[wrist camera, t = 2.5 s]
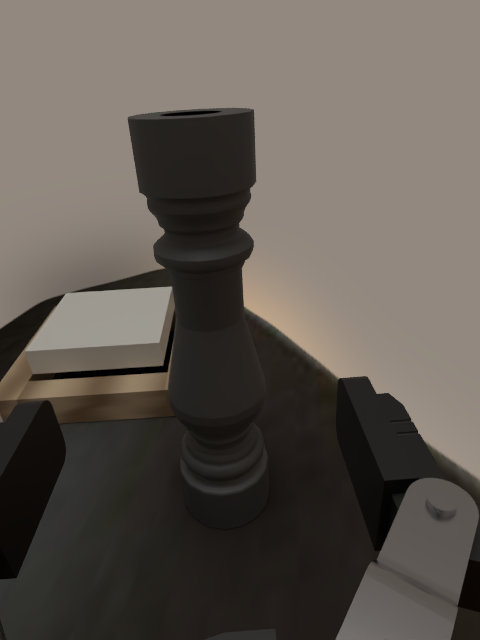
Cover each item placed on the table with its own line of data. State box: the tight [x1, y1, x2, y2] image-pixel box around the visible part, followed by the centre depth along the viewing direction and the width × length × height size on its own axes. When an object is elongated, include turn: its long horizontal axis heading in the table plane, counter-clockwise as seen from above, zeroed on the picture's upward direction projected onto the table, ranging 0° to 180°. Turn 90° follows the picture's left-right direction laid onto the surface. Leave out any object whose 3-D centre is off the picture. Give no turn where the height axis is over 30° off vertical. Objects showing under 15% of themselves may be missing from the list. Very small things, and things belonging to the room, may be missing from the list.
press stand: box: [0, 306, 176, 424], centre depth 46 cm, size 18×18×3 cm
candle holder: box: [128, 108, 269, 529], centre depth 26 cm, size 6×6×25 cm
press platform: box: [25, 287, 175, 374], centre depth 45 cm, size 12×12×2 cm
